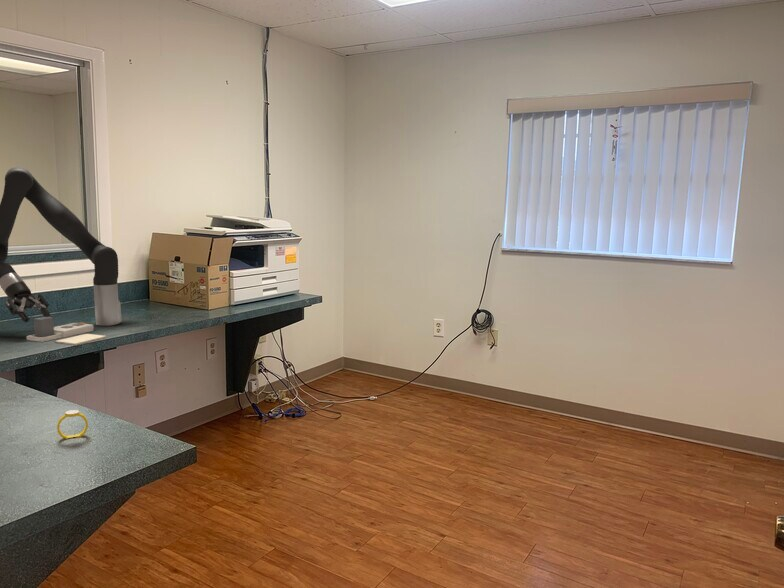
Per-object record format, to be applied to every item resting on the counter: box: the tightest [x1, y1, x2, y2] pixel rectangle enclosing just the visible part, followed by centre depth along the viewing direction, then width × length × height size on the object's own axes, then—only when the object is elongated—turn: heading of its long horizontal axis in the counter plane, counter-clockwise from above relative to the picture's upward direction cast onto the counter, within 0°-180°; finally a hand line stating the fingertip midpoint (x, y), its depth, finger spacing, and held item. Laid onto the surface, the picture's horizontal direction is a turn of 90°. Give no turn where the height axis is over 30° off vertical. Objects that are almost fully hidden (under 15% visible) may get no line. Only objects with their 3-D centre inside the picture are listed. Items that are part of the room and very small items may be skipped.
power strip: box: [26, 321, 94, 343], centre depth 233 cm, size 22×10×3 cm, turn 159°
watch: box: [56, 409, 89, 440], centre depth 133 cm, size 6×3×6 cm, turn 119°
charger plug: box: [32, 316, 55, 338], centre depth 227 cm, size 5×4×8 cm
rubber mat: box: [55, 333, 107, 346], centre depth 226 cm, size 14×10×1 cm
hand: (38, 319), depth 227 cm, fingers open, 8 cm apart
